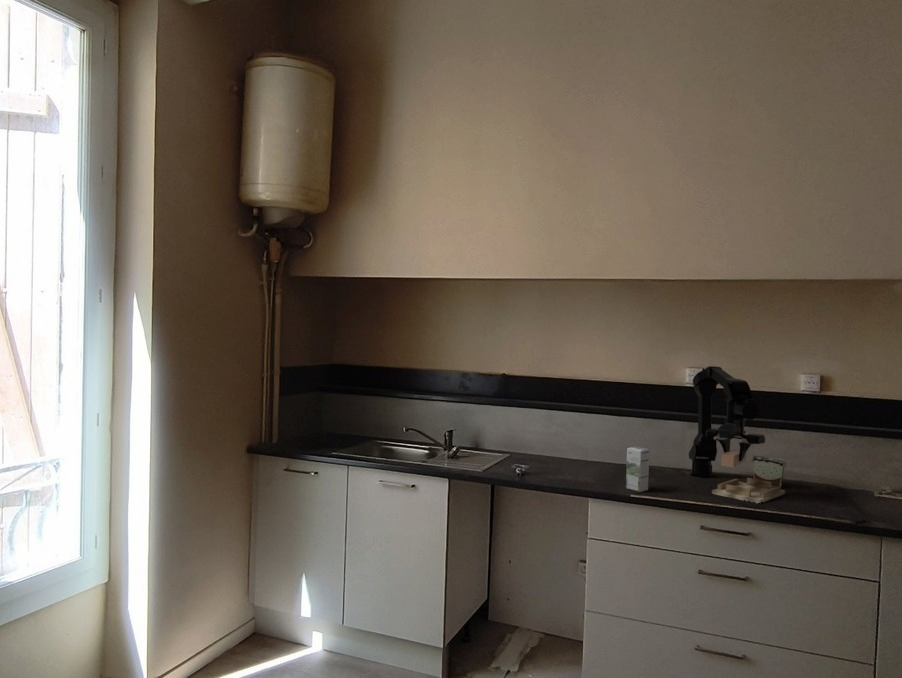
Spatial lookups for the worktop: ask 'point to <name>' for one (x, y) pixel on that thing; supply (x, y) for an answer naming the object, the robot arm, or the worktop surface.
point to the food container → (769, 469)
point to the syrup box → (637, 469)
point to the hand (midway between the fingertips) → (733, 460)
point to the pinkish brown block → (732, 458)
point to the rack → (748, 490)
